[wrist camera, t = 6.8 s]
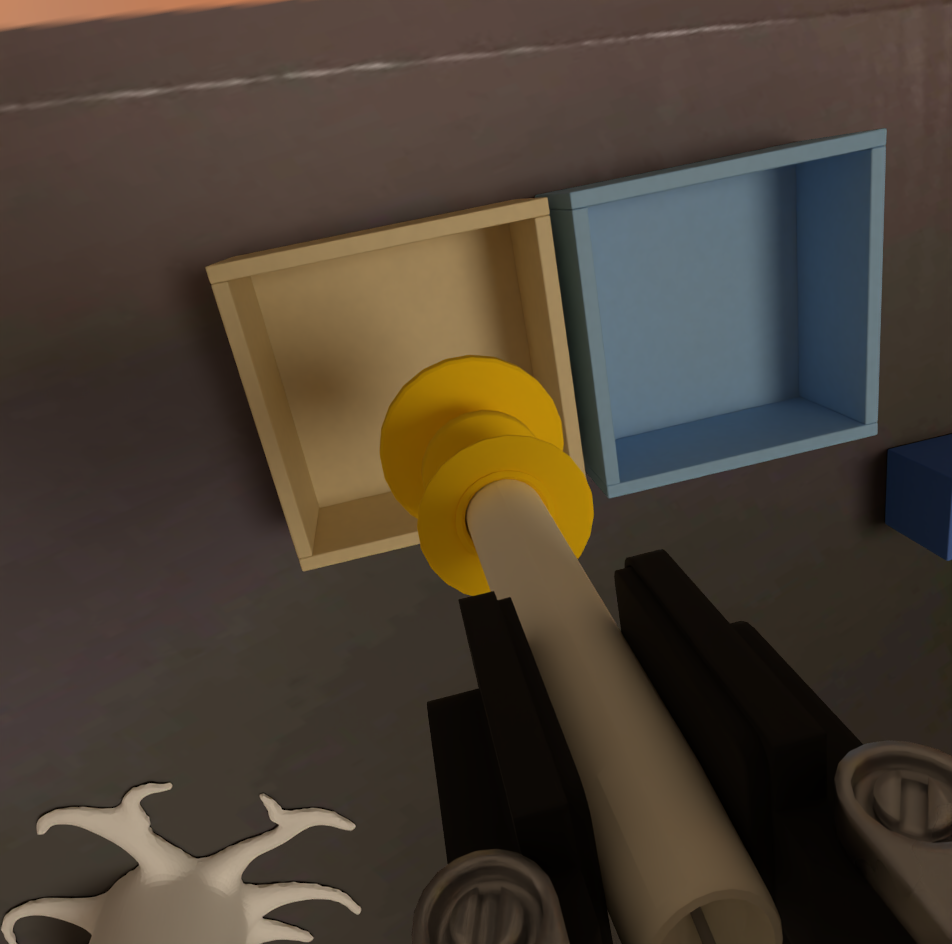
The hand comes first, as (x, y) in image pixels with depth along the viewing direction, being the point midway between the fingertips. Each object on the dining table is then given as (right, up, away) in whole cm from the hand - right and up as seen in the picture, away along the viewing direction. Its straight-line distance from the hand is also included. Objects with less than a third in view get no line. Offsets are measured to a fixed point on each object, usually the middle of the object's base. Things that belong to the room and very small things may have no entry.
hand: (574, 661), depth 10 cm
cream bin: (-5, +8, +22) cm, 23 cm away
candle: (-2, +4, +10) cm, 11 cm away
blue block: (+23, +3, +28) cm, 36 cm away
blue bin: (+8, +11, +22) cm, 26 cm away
